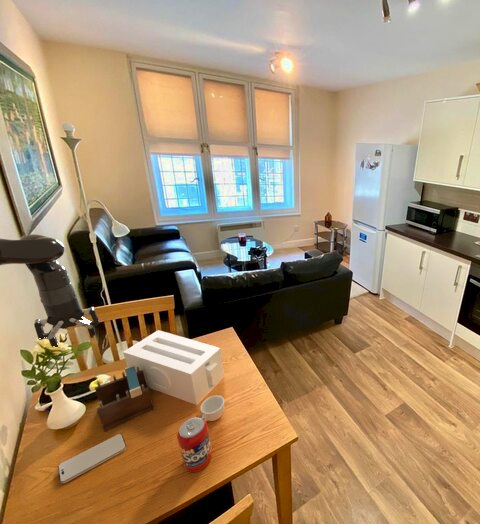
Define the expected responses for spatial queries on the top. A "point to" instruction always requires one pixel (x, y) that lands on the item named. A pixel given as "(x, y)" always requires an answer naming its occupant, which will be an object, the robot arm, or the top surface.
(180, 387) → the toaster
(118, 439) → the smartphone
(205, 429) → the soda can
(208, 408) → the teacup
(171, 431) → the top surface
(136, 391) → the peg
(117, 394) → the rack
